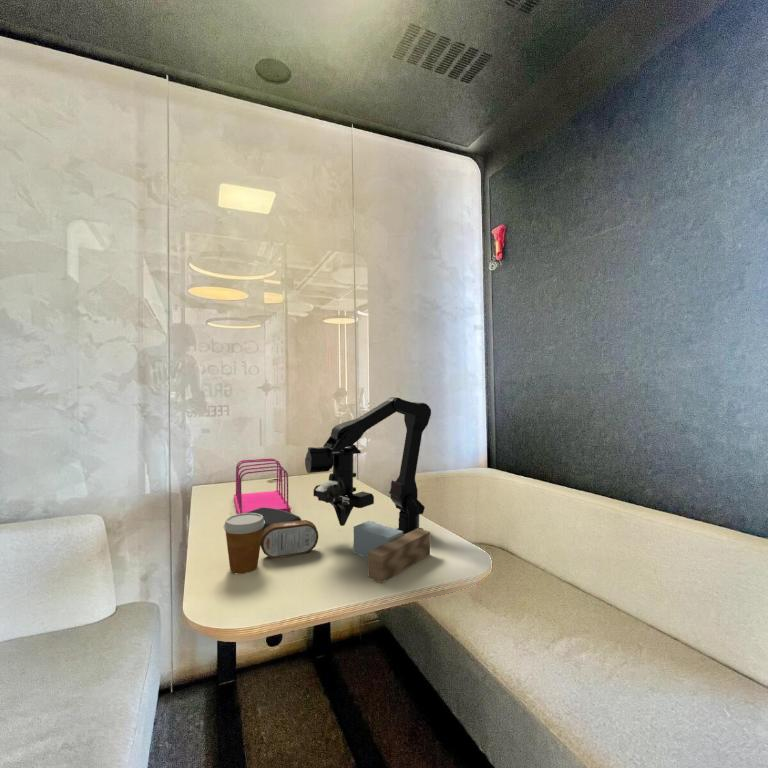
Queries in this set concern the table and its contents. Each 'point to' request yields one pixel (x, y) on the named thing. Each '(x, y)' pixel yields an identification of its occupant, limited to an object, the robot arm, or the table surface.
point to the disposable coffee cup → (244, 541)
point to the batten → (398, 554)
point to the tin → (289, 538)
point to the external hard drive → (275, 516)
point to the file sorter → (260, 499)
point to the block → (372, 536)
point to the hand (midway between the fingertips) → (342, 525)
